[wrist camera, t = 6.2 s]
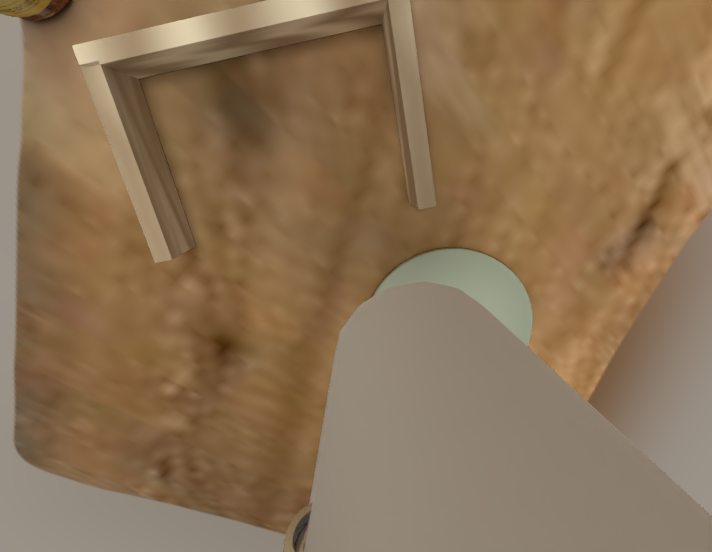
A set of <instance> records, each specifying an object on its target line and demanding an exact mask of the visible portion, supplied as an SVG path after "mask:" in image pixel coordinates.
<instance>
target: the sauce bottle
mask: <svg viewBox="0 0 712 552" xmlns="http://www.w3.org/2000/svg"><path fill="white" fill-rule="evenodd" d="M68 2H69V0H0V14H4V15H8V16H12V17H20V18H23V19H27V20H31V21H39V20H42V19H45V18H48V17H51V16H53V15H55V13H58V12H60V11H61V9H62V8H63V7H65V5H66V4H67V3H68Z"/></svg>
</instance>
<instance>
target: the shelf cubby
mask: <svg viewBox="0 0 712 552" xmlns="http://www.w3.org/2000/svg"><path fill="white" fill-rule="evenodd" d="M379 24H382V28H383V34H384V41H385V47H386V54H387V60H388V67H389V74H390V80H391V87H392V93H393V100H394V106H395V113H396V120H397V126H398V133H399V139H400V146H401V152H402V159H403V166H404V172H405V179H406V185H407V192H408V198H409V203H410V204H411V205H413V206H414V207H415V208H417V209H418V210H421V209H426V208H431V207H436V198H435V190H434V183H433V175H432V167H431V160H430V152H429V144H428V136H427V129H426V121H425V113H424V106H423V98H422V90H421V82H420V75H419V67H418V59H417V52H416V44H415V36H414V29H413V21H412V13H411V5H410V0H266V1H262V2H258V3H253V4H249V5H245V6H240V7H236V8H232V9H227V10H223V11H219V12H215V13H210V14H206V15H202V16H197V17H193V18H189V19H185V20H180V21H176V22H172V23H167V24H163V25H159V26H154V27H150V28H146V29H142V30H137V31H133V32H129V33H124V34H120V35H116V36H111V37H107V38H103V39H99V40H94V41H90V42H86V43H81V44H77V45H73V46H72V47H73V50H74V52H75V55H76V58H77V60H78V63H79V65H80V68H81V71H82V73H83V76H84V78H85V81H86V84H87V86H88V89H89V91H90V94H91V97H92V99H93V102H94V104H95V107H96V110H97V112H98V115H99V118H100V120H101V123H102V125H103V128H104V131H105V133H106V136H107V138H108V141H109V144H110V146H111V149H112V151H113V154H114V157H115V159H116V162H117V164H118V167H119V170H120V172H121V175H122V177H123V180H124V183H125V185H126V188H127V190H128V193H129V196H130V198H131V201H132V204H133V206H134V209H135V211H136V214H137V217H138V219H139V222H140V224H141V227H142V230H143V232H144V235H145V237H146V240H147V243H148V245H149V248H150V250H151V253H152V256H153V258H154V261H155V263H157V262H162V261H167V260H172V259H174V258H176V257H178V256H179V255H181V254H183V253H185V252H187V251H188V250H190V249H192V248H194V247H195V246H196V245H195V242H194V239H193V236H192V233H191V230H190V228H189V225H188V222H187V219H186V216H185V213H184V210H183V207H182V204H181V201H180V198H179V195H178V193H177V190H176V187H175V184H174V181H173V178H172V175H171V172H170V169H169V166H168V163H167V160H166V158H165V155H164V152H163V149H162V146H161V143H160V140H159V137H158V134H157V131H156V128H155V125H154V123H153V120H152V117H151V114H150V111H149V108H148V105H147V102H146V99H145V96H144V93H143V90H142V88H141V85H140V82H139V79H141V78H145V77H150V76H154V75H158V74H163V73H167V72H172V71H176V70H180V69H185V68H189V67H194V66H198V65H203V64H207V63H211V62H216V61H220V60H225V59H229V58H233V57H238V56H242V55H247V54H251V53H256V52H260V51H264V50H269V49H273V48H278V47H282V46H287V45H291V44H295V43H300V42H304V41H309V40H313V39H317V38H322V37H326V36H331V35H335V34H340V33H344V32H348V31H353V30H357V29H362V28H366V27H371V26H375V25H379Z"/></svg>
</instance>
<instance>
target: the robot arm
mask: <svg viewBox="0 0 712 552" xmlns="http://www.w3.org/2000/svg"><path fill="white" fill-rule="evenodd" d="M311 508H312V503H311V504H310V505H308V506H307V507H305V508H303V509H302V510H301V511H300V512H299V513H298V514H297V515H296V516H295V517H294V518H293V520H292V522H291V524H290V525H289V527H288V529H287V533H286V536H285V540H284V548H283V552H304V545H305V544H306V538H307V531H308V522H309V518H310V513H311Z"/></svg>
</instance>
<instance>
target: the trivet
mask: <svg viewBox="0 0 712 552" xmlns="http://www.w3.org/2000/svg"><path fill="white" fill-rule="evenodd" d="M422 281H426V282H431V283H436V284H440V285H445V286H450V287H455V288H458V289H460V290H461V291H463V292H464V293H466V294H467V295H468V296H470V297H471V298H473V299H474V300H476V301H477V302H479V303H480V304H481V305H483V306H484V307H485V308H486V309H487V310H488V311H489V312H490V313H492V314H493V315H494V316H495V317H496V318H497V319H498V320H499V321H500V322H501V323H502V324H503V325H505V326H506V327H507V328H508V329H509V330H510V331H511V332H512V333H513V334H514V335H515V336H517V337H518V338H519V339H520V340H521V341H522V342H523V343H524V344H525V345H526V346H527V347H528V344H529V340H530V337H531V332H532V324H533V315H532V307H531V303H530V300H529V296H528V294H527V292H526V290H525V288H524V286H523V285H522V283H521V282H520V280H519V279H518V277H517V276H516V275H515V274H514V273H513V272H512V271H511V270H510V269H509V268H507V267H506V266H505V265H504V264H502V263H501V262H499V261H498V260H496V259H494V258H493V257H491V256H489V255H486V254H484V253H482V252H479V251H475V250H471V249H465V248H441V249H434V250H431V251H427V252H423V253H421V254H418V255H416V256H413V257H412V258H410V259H408V260H406V261H404V262H403V263H401V264H400V265H398V266H397V267H396V268H394V269H393V270H392V271H391V272H390V273H389V274H388V275H387V276H386V277H385V278H384V279H383V280H382V282H381V283H380V284H379V285H378V287H377V289H376V290H375V292H374V293H373V295H372V297H374V296H375V295H377V294H379V293H380V292H382V291H384V290H385V289H387V288H389V287H393V286H399V285H405V284H411V283H416V282H422Z"/></svg>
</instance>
